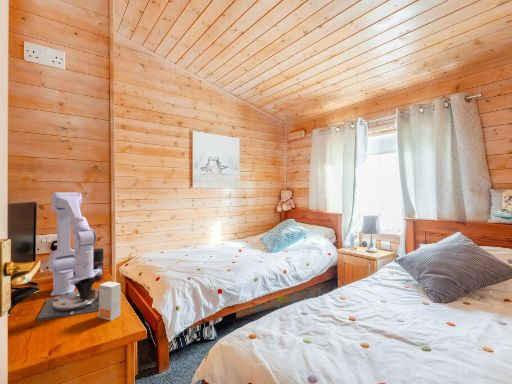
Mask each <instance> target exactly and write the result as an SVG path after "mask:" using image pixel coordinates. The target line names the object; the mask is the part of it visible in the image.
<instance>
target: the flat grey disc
mask: <svg viewBox="0 0 512 384" xmlns="http://www.w3.org/2000/svg"><path fill="white" fill-rule="evenodd" d="M98 291H99V287H91V290H90V293H89V296H88V299H85V300H83V299H81V298H80V295H79V292H78V290H74V291H73V292H69V293H65V294H61V295H57V296H55V297H54V298H55V299H54V300H53V309H55V310H59V311H67V310H74V309H79V308H82V307H85V306H88V305H90V304H92V303H93V302H94V301H95V300H96V298H97V297H98Z"/></svg>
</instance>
